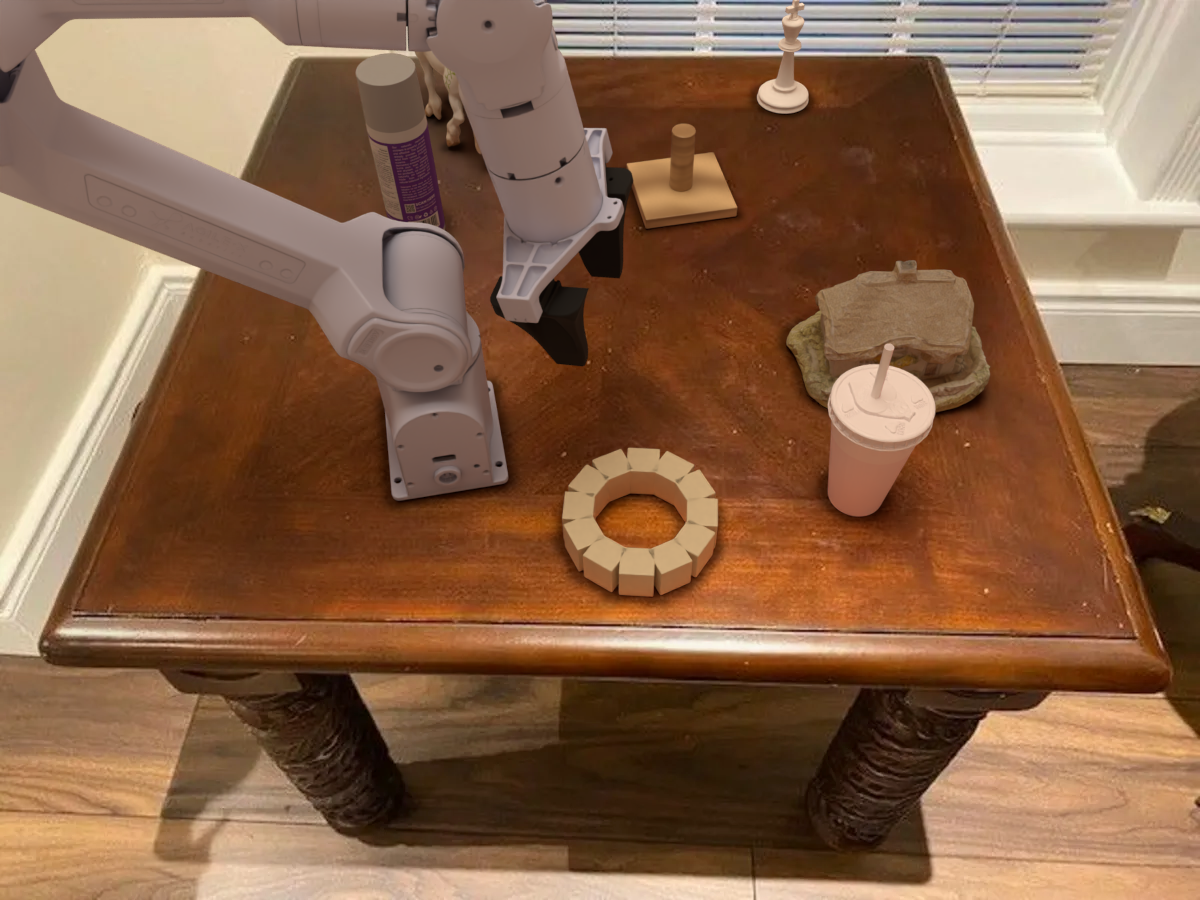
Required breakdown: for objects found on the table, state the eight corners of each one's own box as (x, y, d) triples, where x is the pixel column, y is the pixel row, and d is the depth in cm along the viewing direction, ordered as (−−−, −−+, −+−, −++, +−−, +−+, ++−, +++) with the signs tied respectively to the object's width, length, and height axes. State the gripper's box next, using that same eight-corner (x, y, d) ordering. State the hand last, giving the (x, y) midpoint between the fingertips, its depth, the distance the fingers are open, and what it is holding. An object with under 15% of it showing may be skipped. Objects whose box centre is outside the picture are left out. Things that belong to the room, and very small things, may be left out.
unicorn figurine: (409, 67, 104) (384, -67, 93) (549, 143, 96) (540, 4, 85) (353, 99, 101) (322, -37, 90) (494, 179, 92) (477, 41, 82)
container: (450, 213, 90) (423, 53, 78) (439, 248, 87) (409, 87, 75) (398, 210, 90) (362, 50, 78) (385, 245, 87) (346, 85, 75)
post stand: (736, 216, 89) (743, 152, 84) (645, 229, 88) (647, 165, 83) (712, 161, 94) (718, 97, 88) (626, 172, 93) (626, 108, 88)
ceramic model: (794, 421, 74) (814, 321, 67) (781, 312, 81) (798, 210, 74) (991, 423, 74) (1035, 323, 66) (962, 313, 81) (998, 211, 73)
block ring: (734, 582, 66) (738, 560, 64) (577, 610, 65) (576, 589, 63) (695, 459, 72) (697, 436, 70) (552, 482, 71) (549, 459, 69)
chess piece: (747, 92, 100) (758, -8, 92) (791, 79, 101) (805, -20, 94) (773, 119, 97) (786, 18, 90) (818, 105, 99) (835, 5, 91)
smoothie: (839, 442, 73) (877, 297, 62) (920, 488, 71) (975, 344, 60) (789, 500, 70) (820, 358, 59) (872, 550, 68) (920, 411, 57)
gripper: (559, 242, 51) (615, 410, 62) (639, 64, 59) (677, 241, 69) (435, 235, 54) (509, 398, 64) (527, 65, 61) (580, 236, 72)
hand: (589, 316), depth 67 cm, fingers open, 7 cm apart
